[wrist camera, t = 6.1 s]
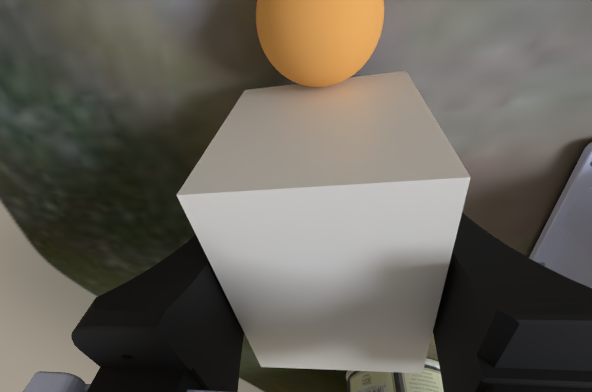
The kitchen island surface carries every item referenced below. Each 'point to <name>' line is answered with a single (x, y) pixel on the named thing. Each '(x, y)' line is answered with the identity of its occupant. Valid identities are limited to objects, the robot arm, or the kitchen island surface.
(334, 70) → the ball
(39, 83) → the kitchen island surface
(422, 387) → the coffee can
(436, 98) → the kitchen island surface
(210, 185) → the white rectangular prism
